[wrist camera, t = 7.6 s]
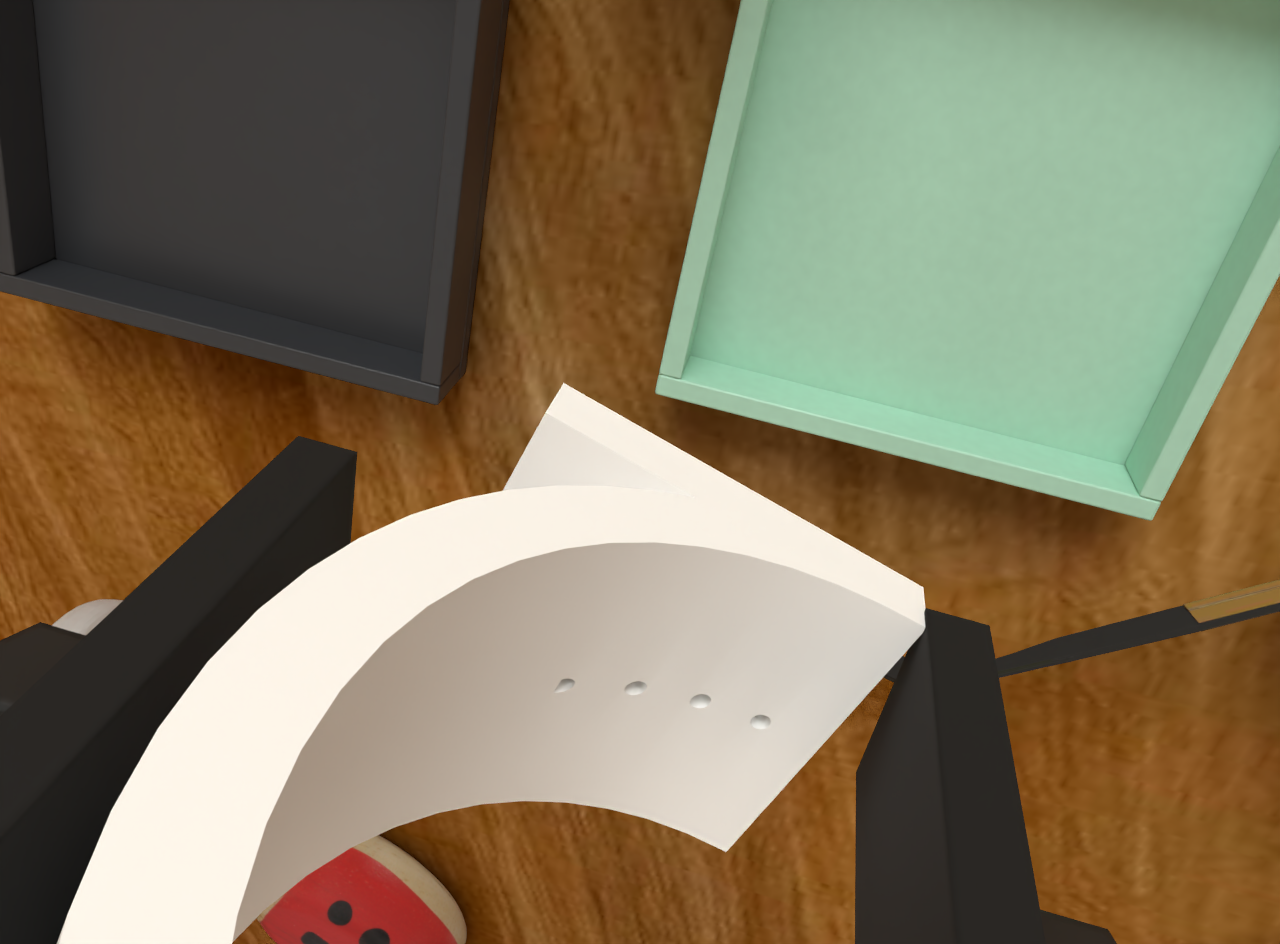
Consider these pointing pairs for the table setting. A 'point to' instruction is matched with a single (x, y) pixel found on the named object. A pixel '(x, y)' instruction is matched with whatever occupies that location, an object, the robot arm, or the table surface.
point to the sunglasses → (1141, 630)
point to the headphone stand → (504, 679)
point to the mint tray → (987, 231)
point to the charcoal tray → (256, 174)
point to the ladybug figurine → (367, 902)
